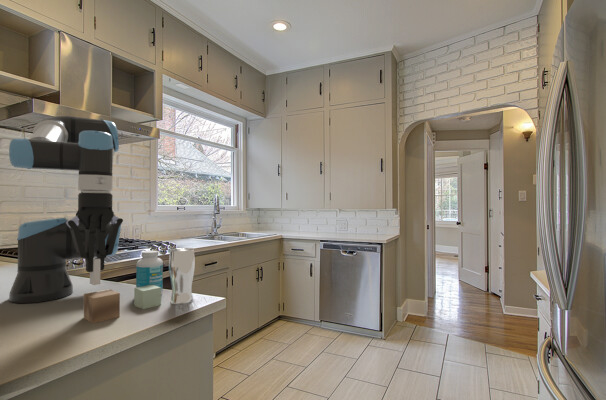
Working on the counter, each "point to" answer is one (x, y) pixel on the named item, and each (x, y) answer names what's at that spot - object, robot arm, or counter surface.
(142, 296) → the sage block
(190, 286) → the beer glass
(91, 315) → the walnut block
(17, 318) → the counter surface
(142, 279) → the pill bottle
